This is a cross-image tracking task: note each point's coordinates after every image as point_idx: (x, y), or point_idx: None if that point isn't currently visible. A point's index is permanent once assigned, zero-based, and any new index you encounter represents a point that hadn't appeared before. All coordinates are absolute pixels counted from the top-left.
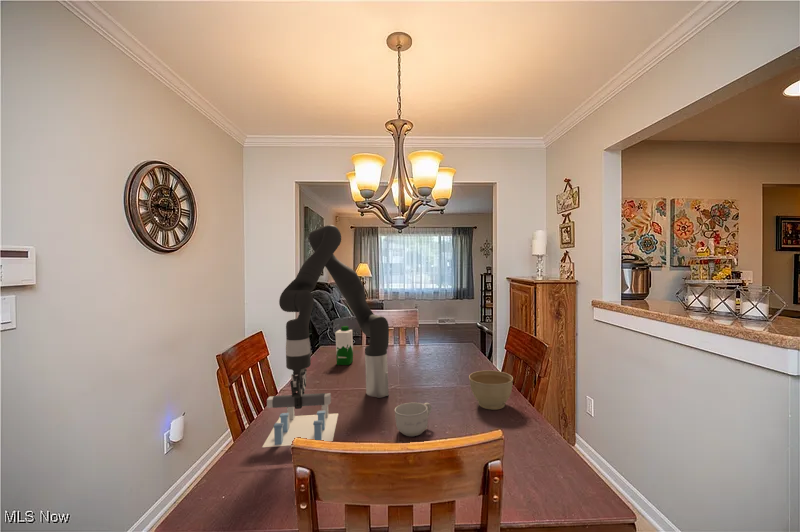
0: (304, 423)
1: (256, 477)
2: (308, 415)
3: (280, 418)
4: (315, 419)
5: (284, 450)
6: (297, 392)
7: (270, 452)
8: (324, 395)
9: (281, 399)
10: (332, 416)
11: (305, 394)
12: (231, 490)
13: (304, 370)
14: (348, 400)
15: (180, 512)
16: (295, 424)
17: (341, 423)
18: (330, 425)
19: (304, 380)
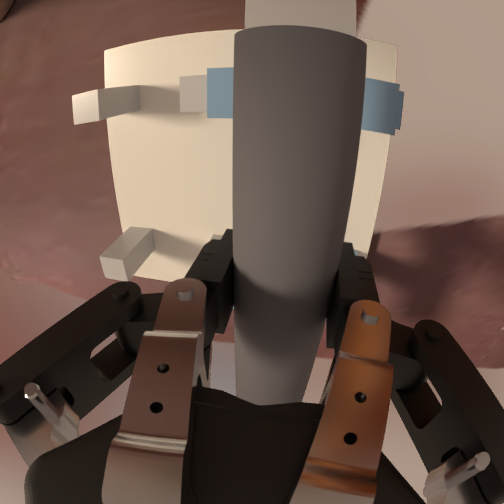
0: (184, 179)
1: (485, 287)
2: (115, 174)
3: (142, 272)
4: (150, 136)
5: (384, 232)
6: (223, 331)
7: (379, 274)
8: (316, 31)
9: (299, 390)
10: (129, 66)
11: (283, 263)
12: (496, 321)
13: (11, 413)
14: (16, 62)
15: (496, 367)
16: (190, 215)
17: (185, 17)
18: (219, 54)
19: (193, 396)
